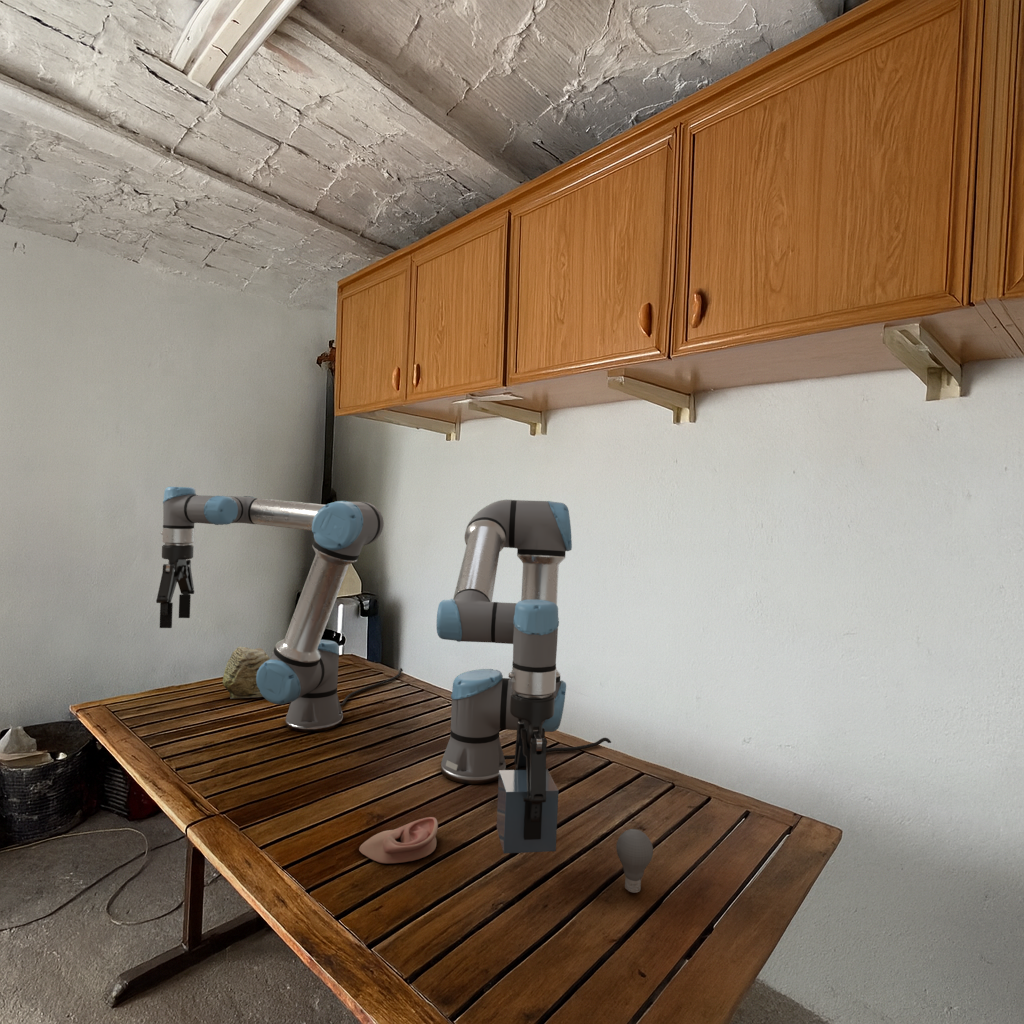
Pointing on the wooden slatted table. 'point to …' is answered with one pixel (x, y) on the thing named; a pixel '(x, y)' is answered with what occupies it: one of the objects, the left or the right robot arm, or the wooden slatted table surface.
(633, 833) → the light bulb
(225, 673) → the fossil
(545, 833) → the block
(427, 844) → the anatomical model
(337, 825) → the wooden slatted table surface
